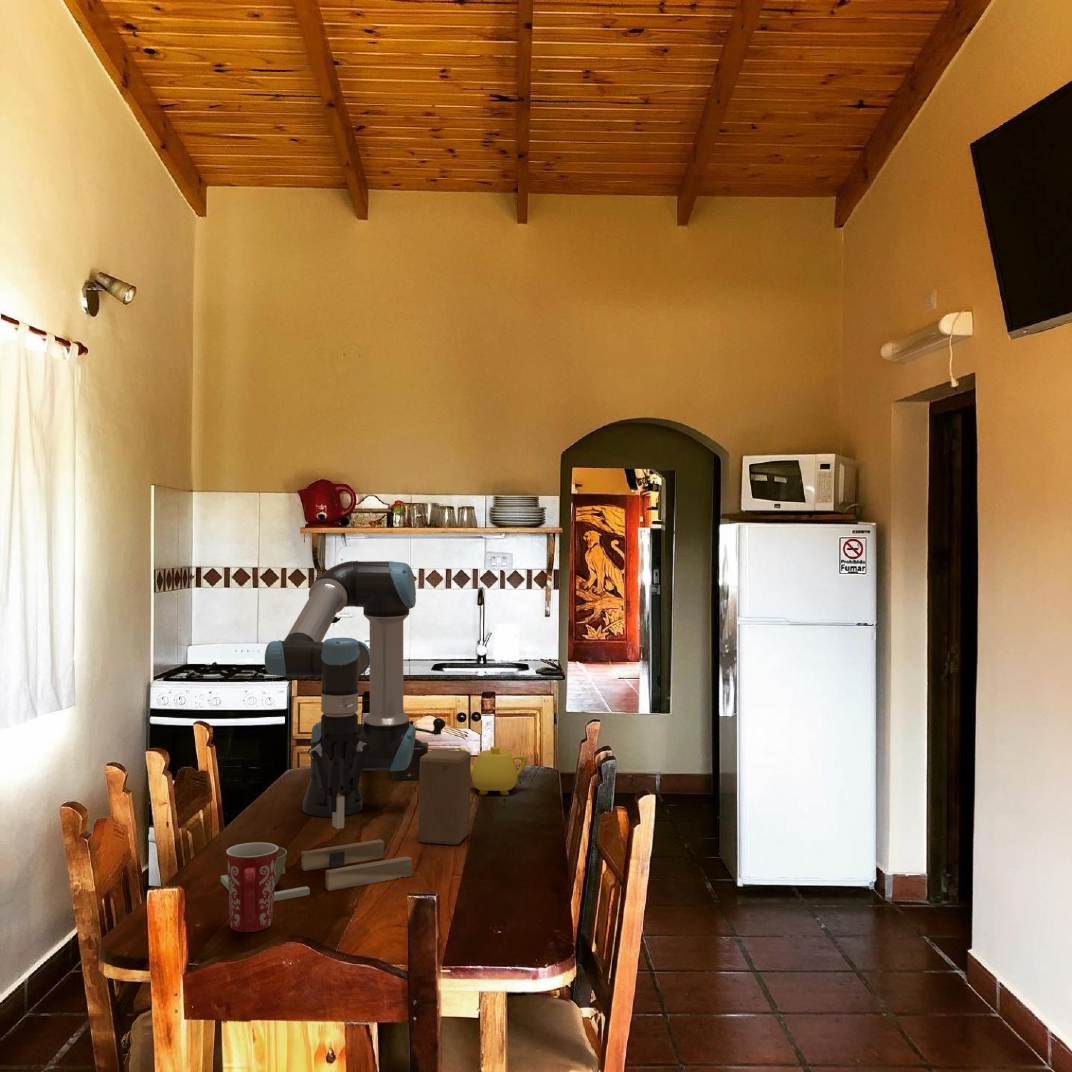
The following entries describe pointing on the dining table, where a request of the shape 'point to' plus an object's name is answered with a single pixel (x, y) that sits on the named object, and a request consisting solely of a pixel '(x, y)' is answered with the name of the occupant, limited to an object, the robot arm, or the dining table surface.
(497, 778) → the teapot
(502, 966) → the dining table surface
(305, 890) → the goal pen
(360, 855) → the twin plank rack
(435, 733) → the manual coffee grinder
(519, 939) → the dining table surface
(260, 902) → the mug
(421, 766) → the wooden block
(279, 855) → the flower pot
